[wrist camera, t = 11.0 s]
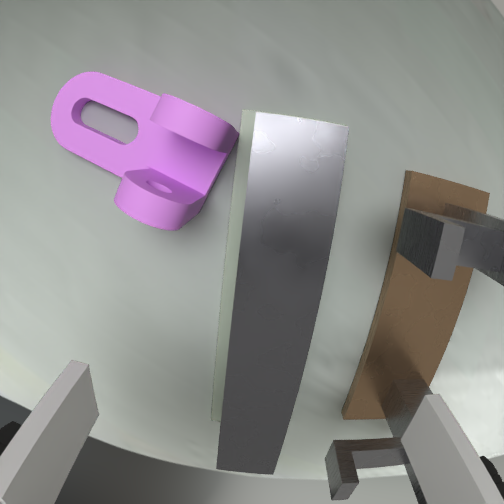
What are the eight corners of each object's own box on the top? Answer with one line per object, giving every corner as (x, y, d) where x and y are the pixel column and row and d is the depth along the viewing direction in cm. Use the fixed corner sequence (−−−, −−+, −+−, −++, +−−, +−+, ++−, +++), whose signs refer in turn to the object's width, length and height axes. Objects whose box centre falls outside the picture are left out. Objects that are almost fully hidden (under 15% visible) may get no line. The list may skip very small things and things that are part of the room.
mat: (211, 417, 25) (210, 420, 25) (243, 110, 19) (242, 109, 18) (284, 425, 25) (285, 428, 25) (345, 125, 19) (346, 125, 18)
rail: (224, 414, 24) (216, 469, 19) (258, 127, 18) (256, 112, 13) (272, 419, 24) (273, 474, 19) (324, 136, 18) (349, 126, 13)
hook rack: (308, 410, 25) (327, 558, 11) (364, 160, 19) (521, 173, 6) (410, 410, 25) (463, 527, 11) (481, 191, 19) (631, 236, 6)
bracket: (240, 134, 19) (227, 121, 12) (199, 212, 21) (169, 237, 14) (81, 67, 18) (23, 44, 11) (51, 136, 19) (-13, 135, 13)
